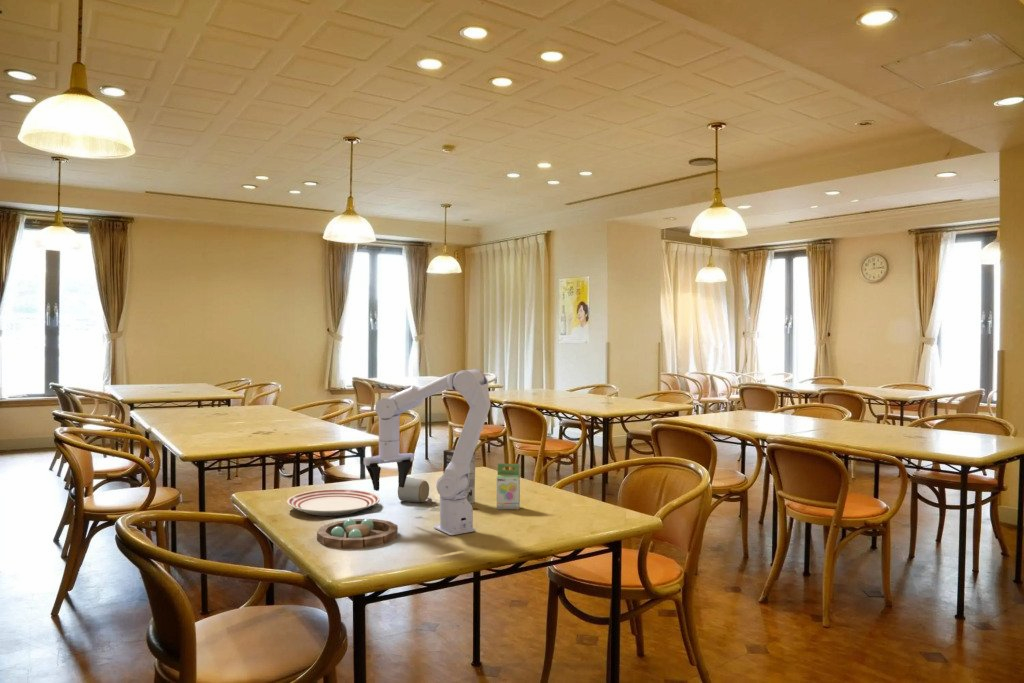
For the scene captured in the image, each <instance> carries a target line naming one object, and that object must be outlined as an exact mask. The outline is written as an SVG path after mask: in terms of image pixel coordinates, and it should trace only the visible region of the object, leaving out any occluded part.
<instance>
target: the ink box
mask: <svg viewBox="0 0 1024 683" xmlns="http://www.w3.org/2000/svg"><path fill="white" fill-rule="evenodd" d="M509 467H510V468H513V469H504V468H509ZM520 484H521V475H520V464H519V463H497V475H496V510H518V511H519V510H520V506H521V505H520V504H521V501H520V500H521V497H520V496H521V495H520V494H521V493H520V492H521V491H520V490H521V485H520Z"/></svg>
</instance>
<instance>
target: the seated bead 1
mask: <svg viewBox="0 0 1024 683" xmlns="http://www.w3.org/2000/svg"><path fill="white" fill-rule="evenodd" d="M344 534H345V532H344V529H343V528H342V527H335V528H333V529H332V531H331V536H336V537H344Z"/></svg>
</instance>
